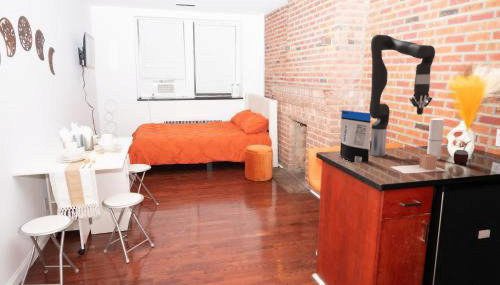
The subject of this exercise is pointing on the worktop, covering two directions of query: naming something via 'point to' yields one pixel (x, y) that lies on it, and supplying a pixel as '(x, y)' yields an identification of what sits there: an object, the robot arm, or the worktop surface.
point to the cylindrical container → (435, 137)
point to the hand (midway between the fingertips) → (419, 114)
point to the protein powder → (355, 136)
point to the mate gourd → (461, 156)
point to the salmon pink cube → (428, 161)
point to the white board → (414, 169)
